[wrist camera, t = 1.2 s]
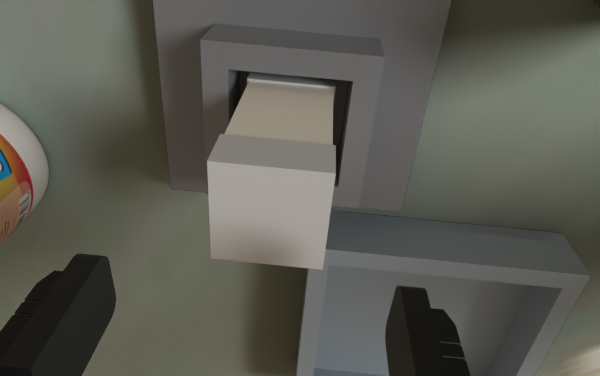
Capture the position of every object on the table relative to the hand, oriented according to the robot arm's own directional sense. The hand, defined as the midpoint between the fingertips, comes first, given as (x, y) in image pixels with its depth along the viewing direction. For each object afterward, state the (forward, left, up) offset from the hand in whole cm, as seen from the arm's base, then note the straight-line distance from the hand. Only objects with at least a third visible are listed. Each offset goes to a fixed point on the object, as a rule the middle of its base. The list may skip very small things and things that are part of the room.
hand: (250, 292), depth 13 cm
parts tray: (-10, +16, -16) cm, 25 cm away
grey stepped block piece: (0, 0, -16) cm, 16 cm away
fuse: (0, 0, -14) cm, 14 cm away
